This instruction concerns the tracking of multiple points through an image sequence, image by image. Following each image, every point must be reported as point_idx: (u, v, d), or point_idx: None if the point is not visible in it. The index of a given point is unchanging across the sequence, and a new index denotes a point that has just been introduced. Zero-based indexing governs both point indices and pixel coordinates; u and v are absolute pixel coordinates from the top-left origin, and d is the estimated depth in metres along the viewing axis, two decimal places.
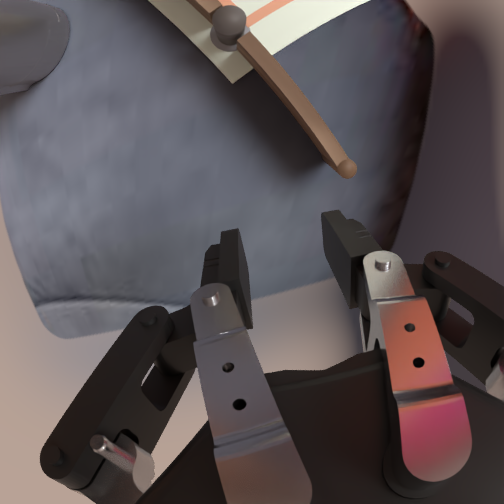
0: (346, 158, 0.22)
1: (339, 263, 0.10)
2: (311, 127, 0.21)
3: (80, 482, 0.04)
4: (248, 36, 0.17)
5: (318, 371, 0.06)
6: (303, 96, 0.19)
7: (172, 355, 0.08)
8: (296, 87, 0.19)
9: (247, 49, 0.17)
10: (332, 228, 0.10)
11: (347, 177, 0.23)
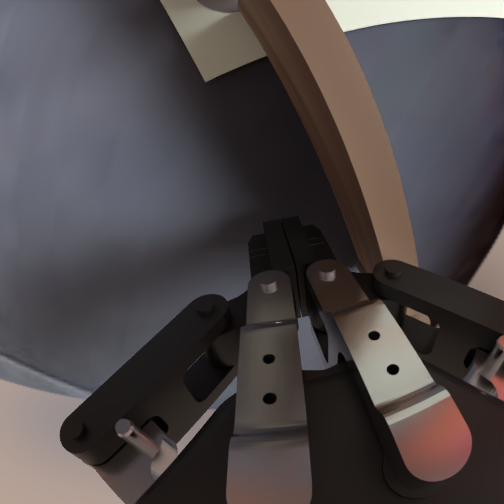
0: None
1: None
2: (382, 247, 0.08)
3: (96, 460, 0.04)
4: None
5: (318, 371, 0.06)
6: (392, 165, 0.07)
7: (223, 348, 0.08)
8: (382, 135, 0.06)
9: None
10: (286, 235, 0.11)
11: None
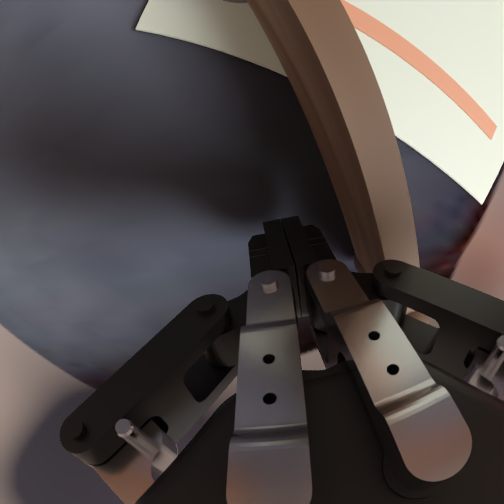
0: None
1: None
2: (384, 240, 0.08)
3: (95, 460, 0.04)
4: None
5: (318, 371, 0.06)
6: (396, 155, 0.07)
7: (223, 348, 0.08)
8: (387, 124, 0.06)
9: None
10: (286, 235, 0.11)
11: None
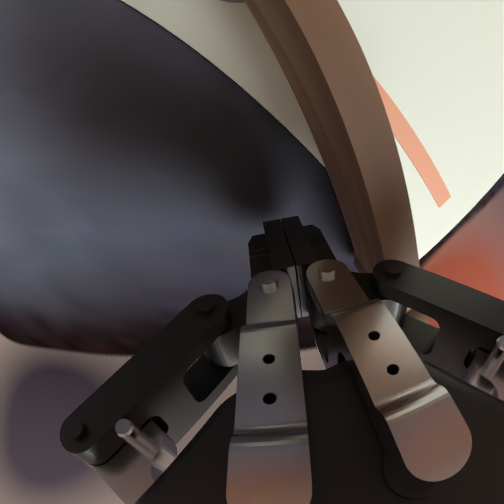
0: None
1: None
2: (383, 237, 0.08)
3: (95, 460, 0.04)
4: None
5: (318, 371, 0.06)
6: (394, 151, 0.07)
7: (223, 348, 0.08)
8: (384, 120, 0.06)
9: None
10: (286, 235, 0.11)
11: None
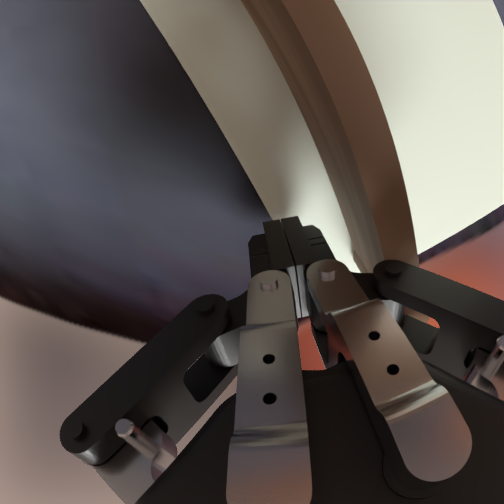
0: None
1: None
2: (380, 230, 0.08)
3: (95, 460, 0.04)
4: None
5: (317, 371, 0.06)
6: (389, 143, 0.07)
7: (223, 348, 0.08)
8: (379, 111, 0.06)
9: None
10: (286, 235, 0.11)
11: None
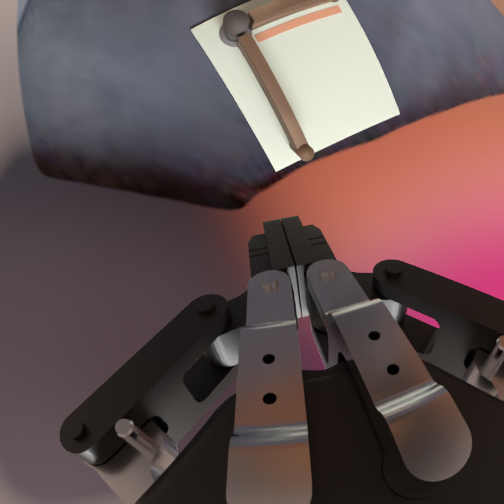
0: (306, 144, 0.27)
1: None
2: (282, 114, 0.26)
3: (95, 459, 0.04)
4: (247, 36, 0.21)
5: (318, 371, 0.06)
6: (280, 89, 0.24)
7: (223, 348, 0.08)
8: (276, 81, 0.24)
9: (244, 46, 0.22)
10: (286, 235, 0.11)
11: (305, 159, 0.28)
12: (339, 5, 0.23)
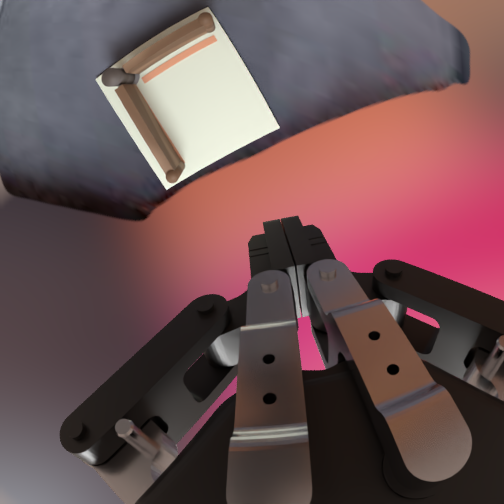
0: (172, 169, 0.34)
1: None
2: (149, 147, 0.32)
3: (95, 460, 0.04)
4: (120, 88, 0.28)
5: (318, 371, 0.06)
6: (146, 127, 0.31)
7: (223, 348, 0.08)
8: (143, 121, 0.30)
9: (119, 96, 0.28)
10: (286, 235, 0.11)
11: (171, 182, 0.34)
12: (215, 34, 0.29)
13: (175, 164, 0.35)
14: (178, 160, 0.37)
